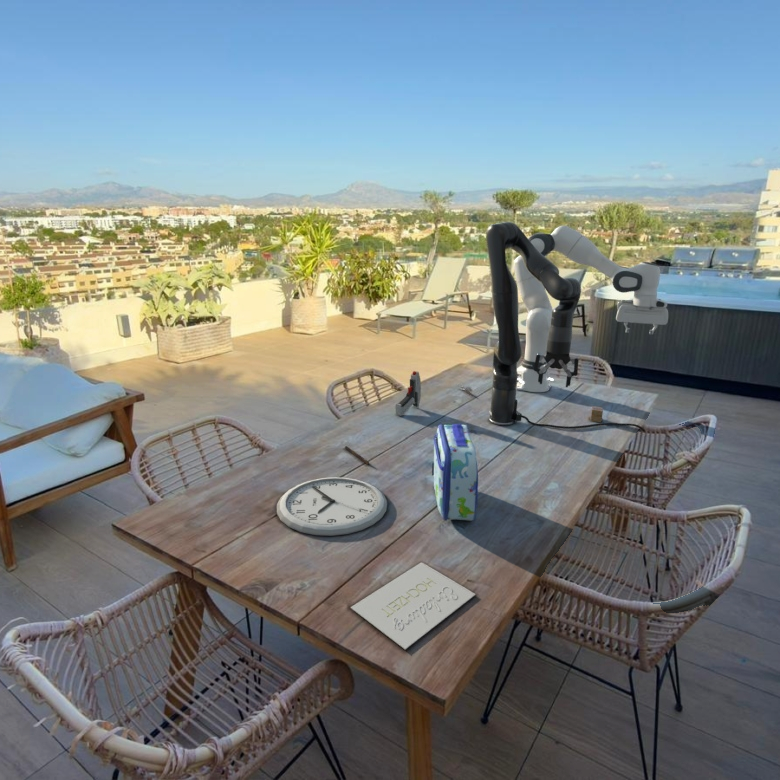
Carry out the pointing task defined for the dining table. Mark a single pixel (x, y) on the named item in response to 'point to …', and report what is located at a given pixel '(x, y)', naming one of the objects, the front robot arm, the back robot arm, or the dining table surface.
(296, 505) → the wall clock
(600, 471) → the dining table surface
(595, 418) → the block
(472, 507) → the lunch box
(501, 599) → the dining table surface
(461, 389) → the fork
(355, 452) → the dark brown stick
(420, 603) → the invitation card
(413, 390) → the toy gun
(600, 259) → the back robot arm
